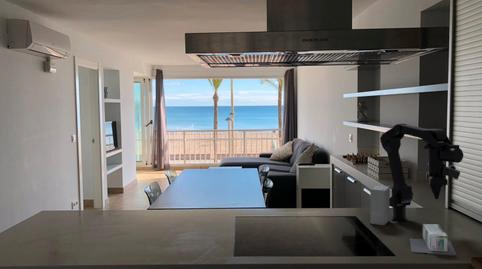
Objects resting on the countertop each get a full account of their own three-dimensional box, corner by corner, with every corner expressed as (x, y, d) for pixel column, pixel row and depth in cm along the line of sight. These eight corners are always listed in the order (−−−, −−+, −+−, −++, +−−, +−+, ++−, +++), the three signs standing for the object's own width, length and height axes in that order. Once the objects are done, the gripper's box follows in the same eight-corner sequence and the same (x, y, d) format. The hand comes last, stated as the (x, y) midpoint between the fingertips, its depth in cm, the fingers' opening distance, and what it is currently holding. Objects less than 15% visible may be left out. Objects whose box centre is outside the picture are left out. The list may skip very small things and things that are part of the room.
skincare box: (375, 219, 190) (374, 184, 189) (391, 221, 185) (390, 185, 185) (369, 224, 183) (368, 188, 182) (385, 226, 179) (384, 189, 178)
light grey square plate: (409, 239, 160) (409, 238, 160) (450, 241, 155) (450, 240, 155) (411, 252, 146) (411, 251, 146) (456, 255, 141) (456, 254, 141)
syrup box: (438, 238, 158) (448, 252, 144) (422, 238, 159) (430, 251, 145) (438, 224, 157) (448, 235, 143) (421, 223, 159) (430, 235, 145)
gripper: (462, 163, 156) (462, 204, 157) (455, 157, 173) (455, 194, 174) (429, 163, 160) (430, 203, 161) (425, 157, 177) (426, 193, 178)
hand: (436, 198), depth 168 cm, fingers closed
